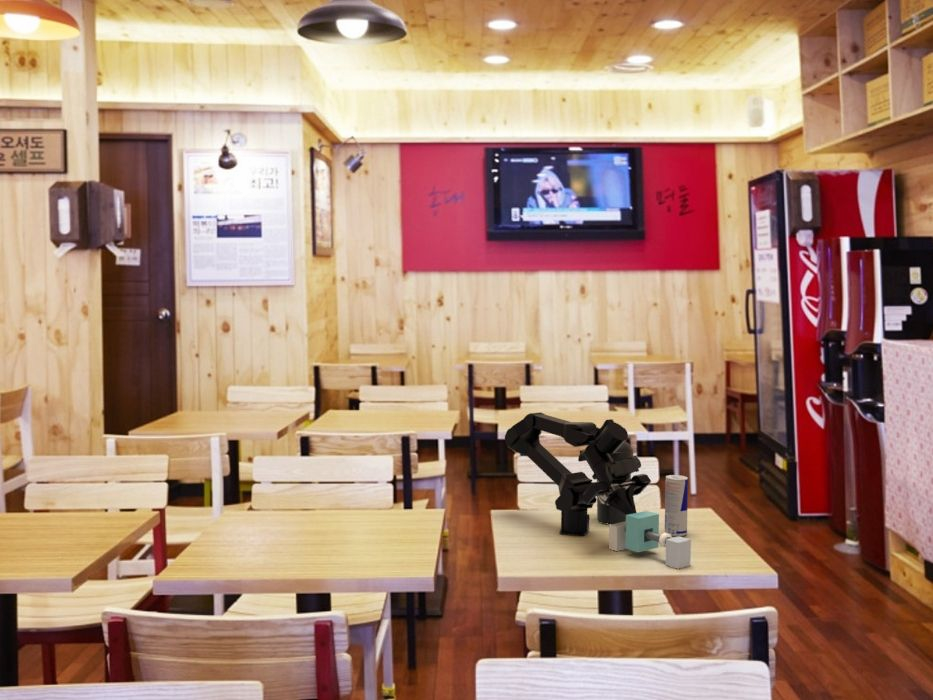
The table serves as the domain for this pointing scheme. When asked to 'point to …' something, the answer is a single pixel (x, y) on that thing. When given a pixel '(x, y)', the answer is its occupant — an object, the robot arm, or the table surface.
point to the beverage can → (676, 505)
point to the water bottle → (605, 510)
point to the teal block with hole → (641, 530)
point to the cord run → (675, 547)
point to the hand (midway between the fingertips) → (635, 517)
